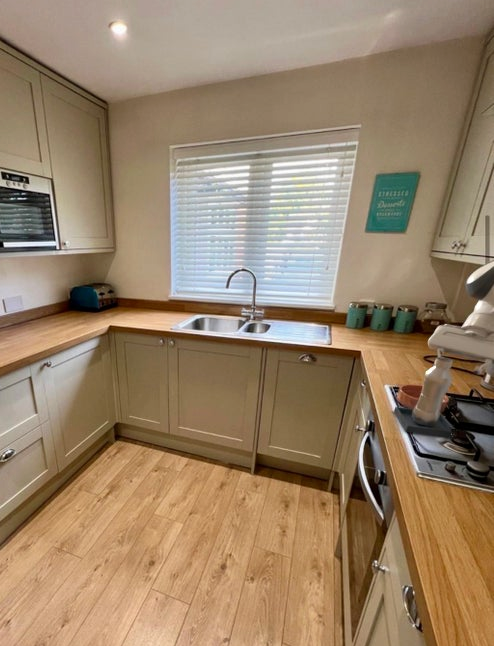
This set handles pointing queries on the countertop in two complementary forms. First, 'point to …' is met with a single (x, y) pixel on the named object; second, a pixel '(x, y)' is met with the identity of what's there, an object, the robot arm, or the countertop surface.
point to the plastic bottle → (433, 392)
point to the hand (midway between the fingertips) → (456, 367)
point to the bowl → (414, 396)
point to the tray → (411, 426)
